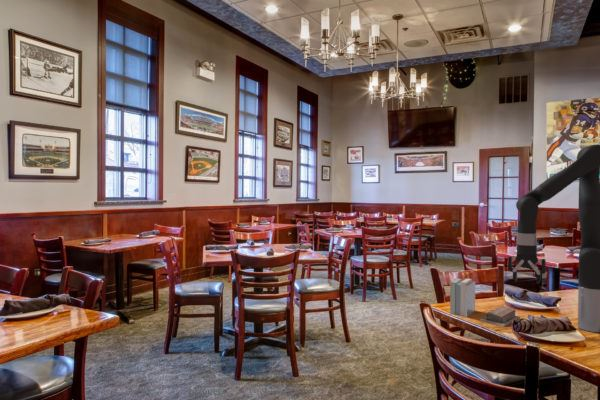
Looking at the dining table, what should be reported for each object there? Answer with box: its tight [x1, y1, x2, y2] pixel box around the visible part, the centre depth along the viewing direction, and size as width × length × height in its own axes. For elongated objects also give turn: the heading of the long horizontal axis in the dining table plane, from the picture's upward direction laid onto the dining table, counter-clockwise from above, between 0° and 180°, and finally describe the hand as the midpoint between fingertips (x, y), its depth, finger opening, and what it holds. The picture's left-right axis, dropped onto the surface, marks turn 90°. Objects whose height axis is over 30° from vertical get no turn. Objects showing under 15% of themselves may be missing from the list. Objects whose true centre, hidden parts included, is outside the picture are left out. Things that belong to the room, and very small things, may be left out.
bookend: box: [450, 280, 476, 318], centre depth 192 cm, size 8×14×14 cm, turn 143°
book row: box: [449, 278, 473, 317], centre depth 192 cm, size 7×10×15 cm
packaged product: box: [479, 306, 521, 328], centre depth 181 cm, size 18×5×10 cm
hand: (526, 282), depth 175 cm, fingers open, 8 cm apart
